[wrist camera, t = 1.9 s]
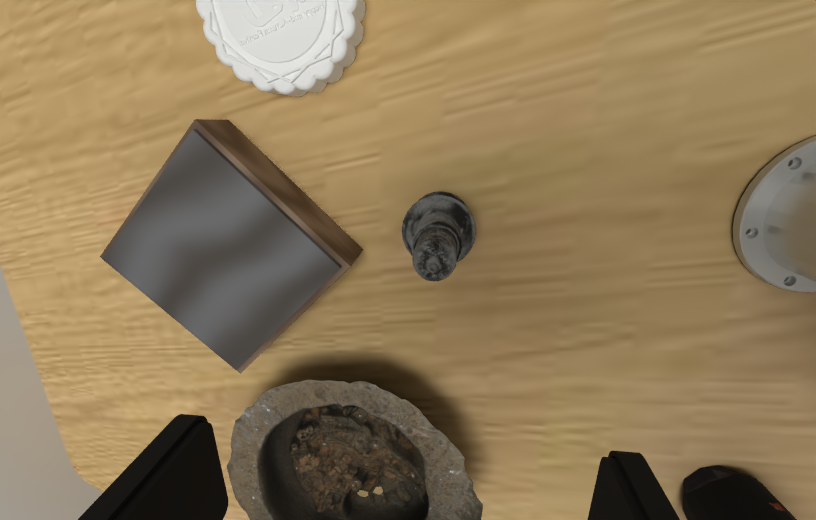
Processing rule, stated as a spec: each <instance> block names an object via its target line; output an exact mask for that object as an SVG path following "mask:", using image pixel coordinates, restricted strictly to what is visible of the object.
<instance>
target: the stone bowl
mask: <svg viewBox="0 0 816 520" xmlns="http://www.w3.org/2000/svg"><path fill="white" fill-rule="evenodd" d="M231 449H232V453H231V459H230V461H229V463H228V465H227V469H228V473H229V477H230V481H231V485H232V488H233V491H234V494H235V498H236V500H237V501H238V503H239V505H240V506H241V507H242V508H243V509H244V510H245V511H246V512H247V514H248V517H249V518H250V520H481V516H482V510H483V504H482V503H481V502H480V501H479V499H478V498H477V496H476V494H475V492H474V490H473V482H472V480H471V479H470V477H469V476H468V475H467V473H466V472H465V466H464V461H465V458H464V457H463V455H462V454H461V452H460V451H459V450H458V449H457V448H456V447H455V446H454V445H453V444H452V443H451V442H450V441H449V439H448V438H447V437H446V436H445V435H444V434H443V433H442V432H441V431H440V430H437V429H436V428H435V427H434V426H433V425H431V423H430V422H429V421H428V420H427V418H426V417H425V416H424V415H423V414H422V412H421V411H420V410H419V409H418V408H417V407H415V406H414V405H412V404H411V403H410V402H408V401H407V400H405V399H403V400H402V399H400V398H398V397H397V396H395V395H394V394H392V393H391V392H388V391H385V390H383V389H380V388H379V387H377V386H376V385H373V384H371V383H369V382H366V381H358V382H352V383H350V384H349V383H347V382H345V381H339V382H338V381H331V380H326V381H317V380H304V381H301V382H293V383H289V384H284V385H281V386H277V387H273V388H272V389H270V390H268V391H266V392H264V393H262V395H261V396H260V397H259V398H257V403H254V405H253V407H248V408H246V410H245V412H244V414H242V416H241V417H240V418H239V419H237V420H236V421H235V425H234V428H233V433H232V438H231ZM376 486H377V487H379V486H381V487H382V489H383V493H382V494H381V495H377V494H375V493H373V490H374V489H375V487H376ZM359 490H364V491H367V492H369V493H368V494H369V495H368V496H367V497H361V496H359V495H358V494H357V492H359Z"/></svg>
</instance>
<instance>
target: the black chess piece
mask: <svg viewBox="0 0 816 520" xmlns="http://www.w3.org/2000/svg"><path fill="white" fill-rule="evenodd" d="M402 235H403V241H404V243H405V246H406V248H407V249H408V251H409V252H410V253H411V255H412V256H413V265H414V268H415V270H416V272H417V273H418V274H419V275H420V276H421V277H422V278H424V279H426V280H429V281H440V280H443V279H445V278H446V277H448V276H449V275H450V274H451V273H452V272H453V270H454V268H455V266H456V262H458V261H460V260H461V259H463V258H464V257H465V256H466V255H467V254H468V252H469V251H470V250H471V248H472V246H473V244H474V240H475V236H476V227H475V222H474V219H473V216H472V214H471V213H470V211H469V210H468V208H467V207H466V205H465V204H464V202H463V201H462V200H461V199H459V198H458V197H457V196H455V195H453V194H451V193H447V192H433V193H430V194H428V195H426V196H424V197H423V198H421V199H420V200H419V201H418V202H417V203H415V204H414V205H413V206H412V207H411V208H410V210H409V211H408V212H407V214H406V216H405V218H404V221H403V226H402Z"/></svg>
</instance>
